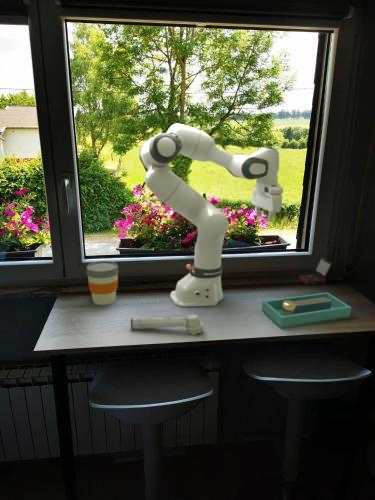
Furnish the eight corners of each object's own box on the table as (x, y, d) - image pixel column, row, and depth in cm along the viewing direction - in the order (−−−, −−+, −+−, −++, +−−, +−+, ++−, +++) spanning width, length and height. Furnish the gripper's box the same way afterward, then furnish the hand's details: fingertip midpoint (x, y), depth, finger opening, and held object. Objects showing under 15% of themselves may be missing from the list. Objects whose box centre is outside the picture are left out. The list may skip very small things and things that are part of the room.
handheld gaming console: (297, 277, 178) (299, 258, 175) (319, 275, 181) (322, 256, 178) (308, 285, 170) (311, 264, 167) (331, 282, 173) (334, 263, 170)
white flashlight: (132, 314, 132) (201, 310, 128) (135, 331, 134) (203, 326, 130) (129, 321, 127) (201, 317, 124) (132, 338, 129) (203, 334, 125)
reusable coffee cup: (112, 291, 159) (111, 258, 155) (124, 302, 149) (123, 267, 145) (84, 297, 153) (81, 264, 148) (94, 309, 143) (92, 273, 138)
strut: (322, 306, 147) (324, 295, 145) (330, 312, 142) (332, 300, 141) (279, 313, 141) (280, 301, 139) (286, 318, 136) (287, 306, 135)
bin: (280, 329, 131) (281, 317, 130) (261, 311, 144) (262, 301, 142) (349, 317, 140) (351, 307, 138) (325, 302, 152) (327, 292, 151)
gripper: (248, 183, 164) (246, 213, 169) (272, 190, 146) (269, 224, 150) (261, 183, 166) (259, 213, 171) (285, 190, 148) (282, 223, 152)
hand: (264, 218), depth 160 cm, fingers open, 8 cm apart
